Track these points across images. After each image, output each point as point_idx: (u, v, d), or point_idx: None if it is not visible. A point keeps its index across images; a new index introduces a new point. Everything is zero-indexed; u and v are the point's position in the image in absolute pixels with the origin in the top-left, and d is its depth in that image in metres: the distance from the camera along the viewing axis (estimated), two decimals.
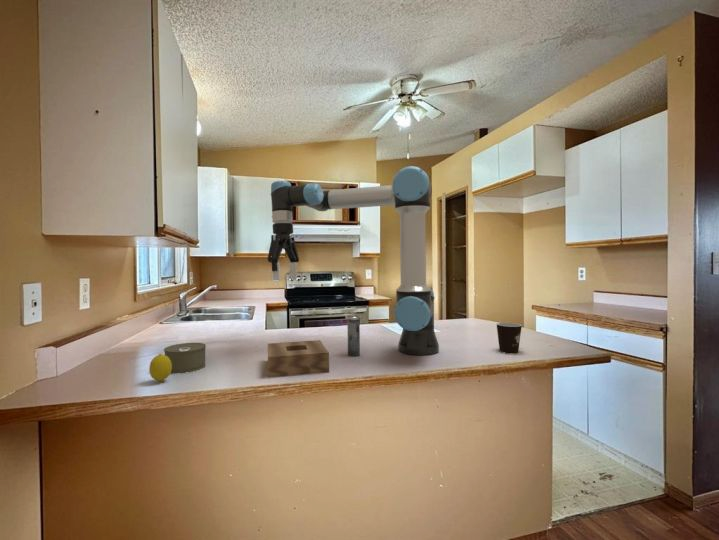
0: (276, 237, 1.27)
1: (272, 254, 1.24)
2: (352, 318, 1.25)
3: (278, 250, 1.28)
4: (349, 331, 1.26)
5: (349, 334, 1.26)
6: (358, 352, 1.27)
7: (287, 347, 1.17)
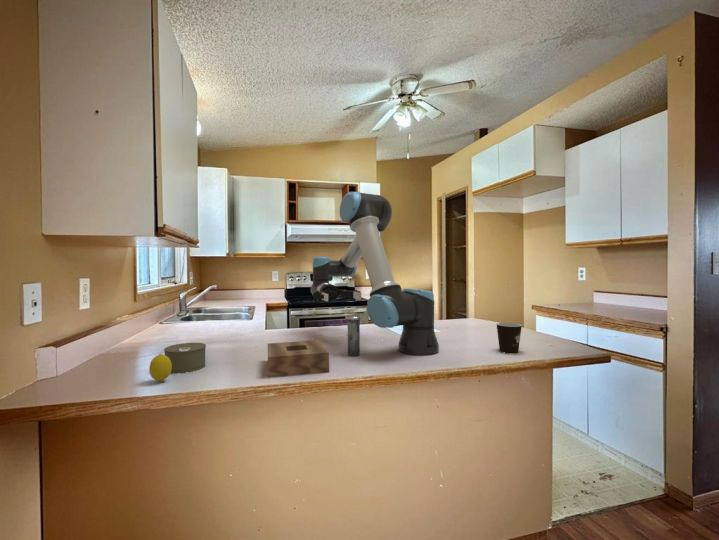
0: (316, 291, 1.48)
1: None
2: (352, 318, 1.25)
3: None
4: (349, 331, 1.26)
5: (349, 334, 1.26)
6: (358, 352, 1.27)
7: (287, 347, 1.17)
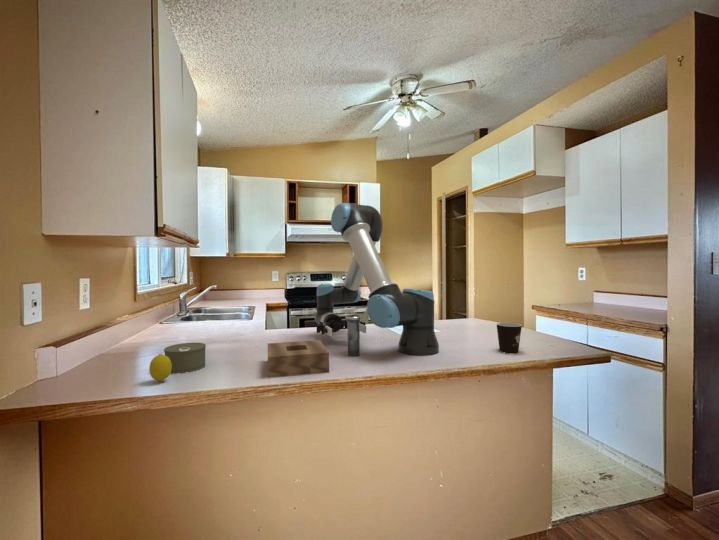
0: (319, 323, 1.44)
1: None
2: (352, 318, 1.25)
3: None
4: (349, 331, 1.26)
5: (349, 334, 1.26)
6: (358, 352, 1.27)
7: (287, 347, 1.17)
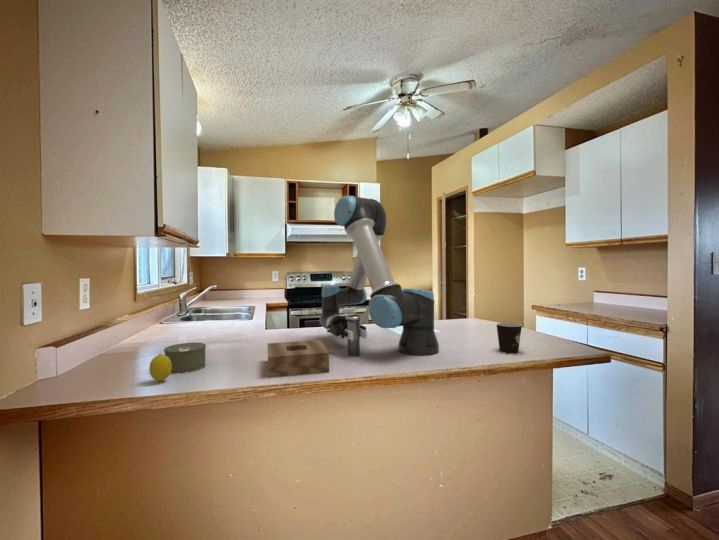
0: (328, 326, 1.35)
1: (334, 330, 1.29)
2: (352, 318, 1.25)
3: (340, 328, 1.32)
4: None
5: None
6: (358, 352, 1.27)
7: (287, 347, 1.17)
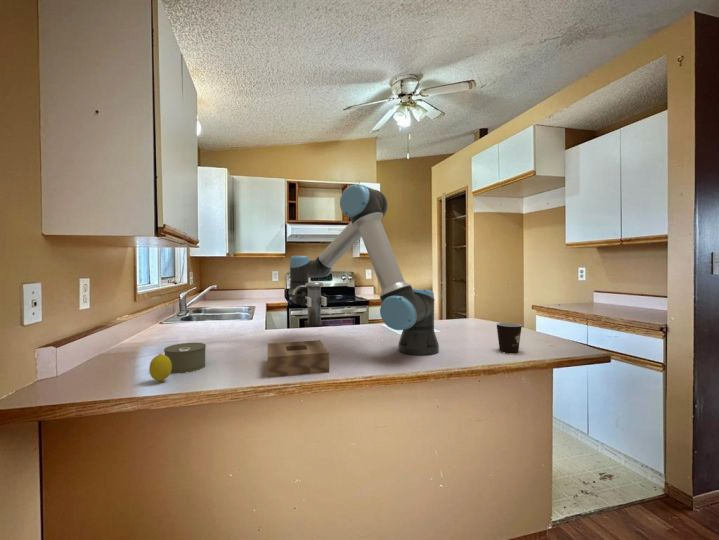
0: (290, 295, 1.28)
1: (295, 298, 1.22)
2: (311, 284, 1.18)
3: None
4: None
5: None
6: (318, 321, 1.20)
7: (287, 347, 1.17)
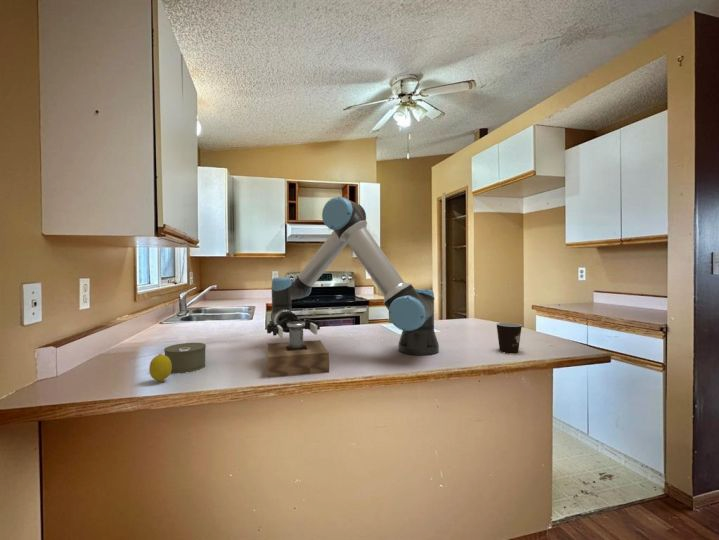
0: (270, 322, 1.22)
1: None
2: (293, 325, 1.11)
3: None
4: (290, 340, 1.13)
5: (290, 343, 1.13)
6: None
7: (287, 347, 1.17)
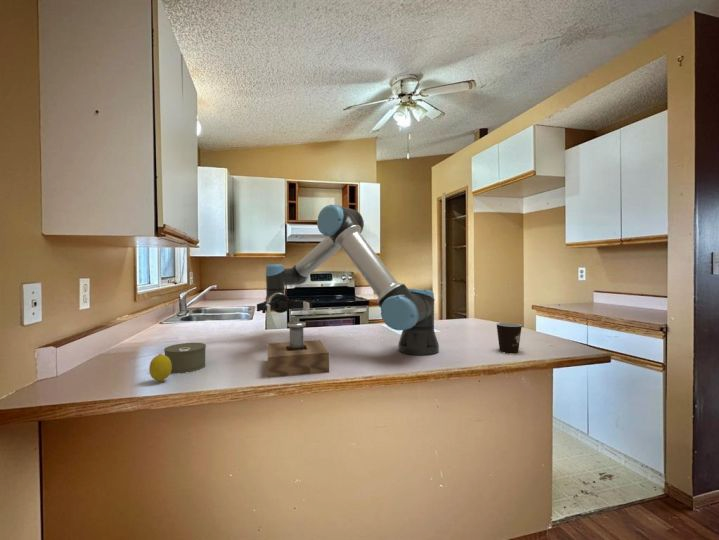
0: (263, 302, 1.35)
1: None
2: (293, 325, 1.11)
3: None
4: (291, 340, 1.13)
5: (291, 343, 1.13)
6: None
7: (287, 347, 1.17)
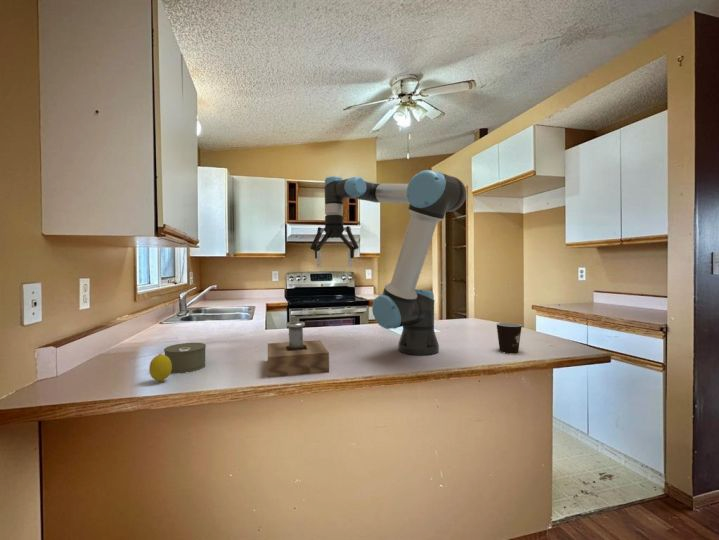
0: None
1: None
2: (292, 325, 1.11)
3: None
4: (290, 340, 1.13)
5: (290, 343, 1.13)
6: None
7: (287, 347, 1.17)
